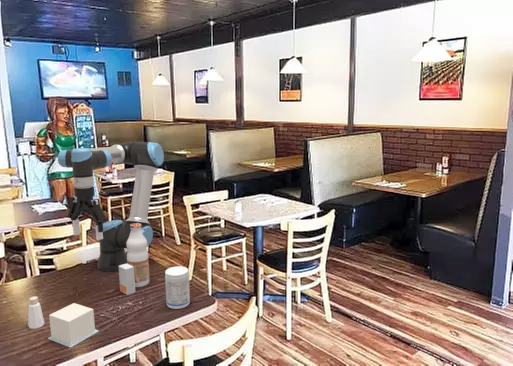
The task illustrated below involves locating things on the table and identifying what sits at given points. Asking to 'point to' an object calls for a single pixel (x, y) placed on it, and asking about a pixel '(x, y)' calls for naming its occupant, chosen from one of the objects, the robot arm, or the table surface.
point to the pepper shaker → (35, 314)
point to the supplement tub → (177, 287)
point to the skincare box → (127, 279)
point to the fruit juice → (138, 255)
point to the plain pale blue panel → (74, 343)
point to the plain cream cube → (72, 323)
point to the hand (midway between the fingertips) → (88, 237)
